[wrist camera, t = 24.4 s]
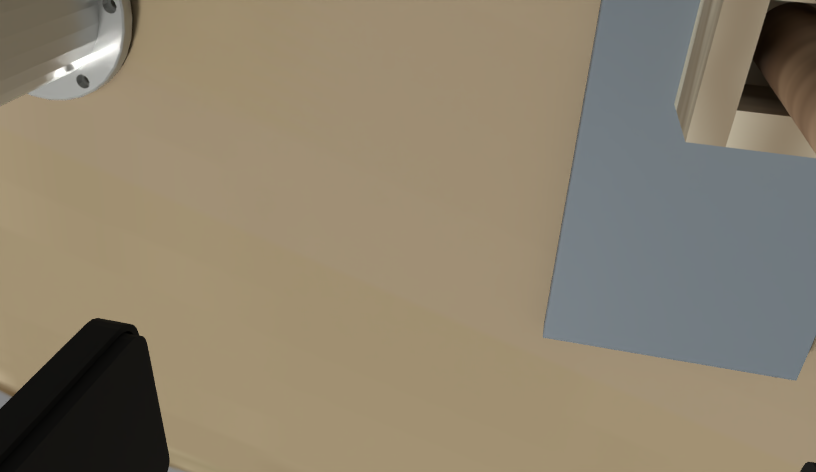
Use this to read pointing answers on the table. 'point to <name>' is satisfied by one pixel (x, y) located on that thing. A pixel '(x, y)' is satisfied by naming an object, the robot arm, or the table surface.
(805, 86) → the dowel
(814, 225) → the jig board
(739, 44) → the socket block
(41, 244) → the table surface
